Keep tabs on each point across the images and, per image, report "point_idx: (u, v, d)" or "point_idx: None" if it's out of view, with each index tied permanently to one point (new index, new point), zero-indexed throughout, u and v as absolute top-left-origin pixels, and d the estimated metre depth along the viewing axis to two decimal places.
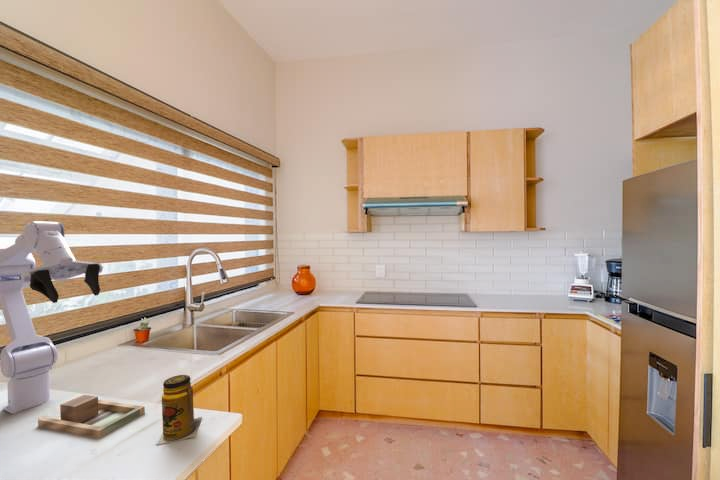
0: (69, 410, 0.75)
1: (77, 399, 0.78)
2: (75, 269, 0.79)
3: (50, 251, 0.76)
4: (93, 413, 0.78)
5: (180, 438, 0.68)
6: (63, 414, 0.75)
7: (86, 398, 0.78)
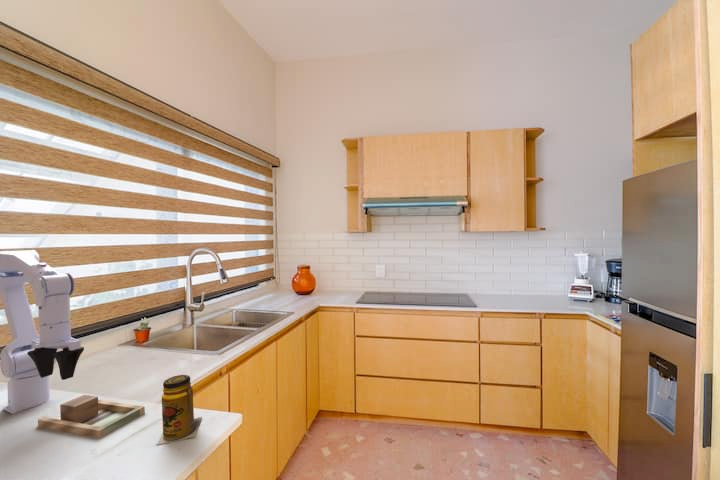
0: (69, 410, 0.75)
1: (77, 399, 0.78)
2: None
3: None
4: (93, 413, 0.78)
5: (180, 438, 0.68)
6: (63, 414, 0.75)
7: (86, 398, 0.78)
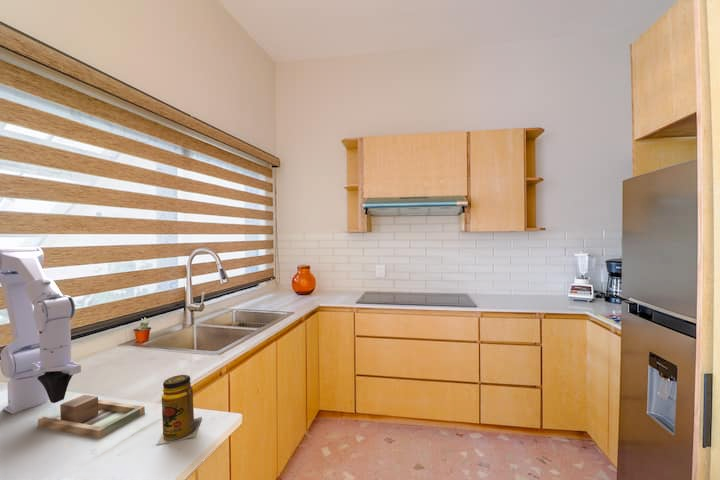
0: (69, 410, 0.75)
1: (77, 399, 0.78)
2: None
3: None
4: (93, 413, 0.78)
5: (180, 438, 0.68)
6: (63, 414, 0.75)
7: (86, 398, 0.78)
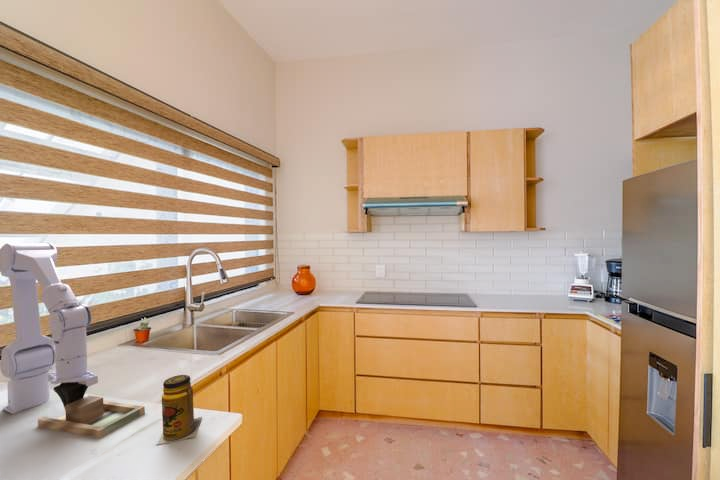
0: (74, 411, 0.74)
1: (82, 400, 0.78)
2: None
3: None
4: (98, 414, 0.78)
5: (180, 438, 0.68)
6: (69, 414, 0.75)
7: (91, 399, 0.78)
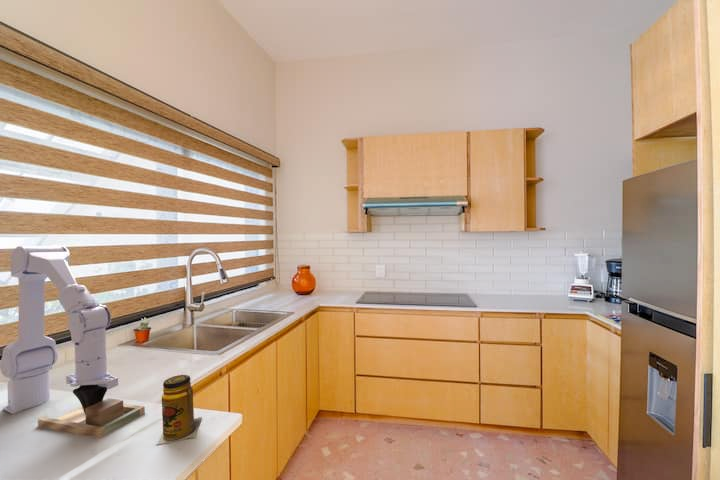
0: (95, 414, 0.72)
1: (102, 403, 0.76)
2: None
3: None
4: (118, 417, 0.76)
5: (180, 438, 0.68)
6: (89, 418, 0.73)
7: (111, 402, 0.76)
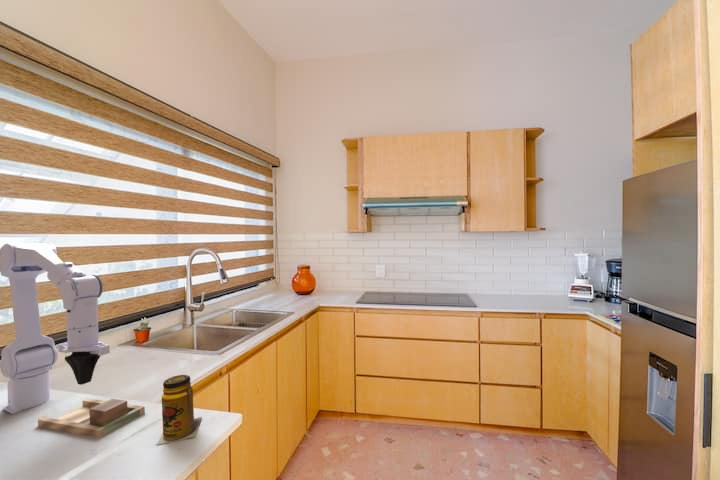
0: (99, 415, 0.72)
1: (106, 403, 0.75)
2: None
3: None
4: None
5: (180, 438, 0.68)
6: (93, 419, 0.73)
7: (115, 402, 0.76)
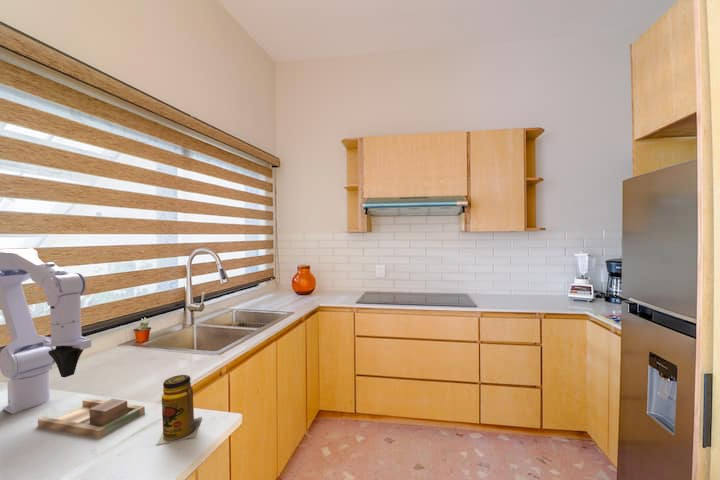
0: (99, 415, 0.72)
1: (106, 403, 0.75)
2: None
3: None
4: None
5: (180, 438, 0.68)
6: (93, 419, 0.73)
7: (115, 402, 0.76)
